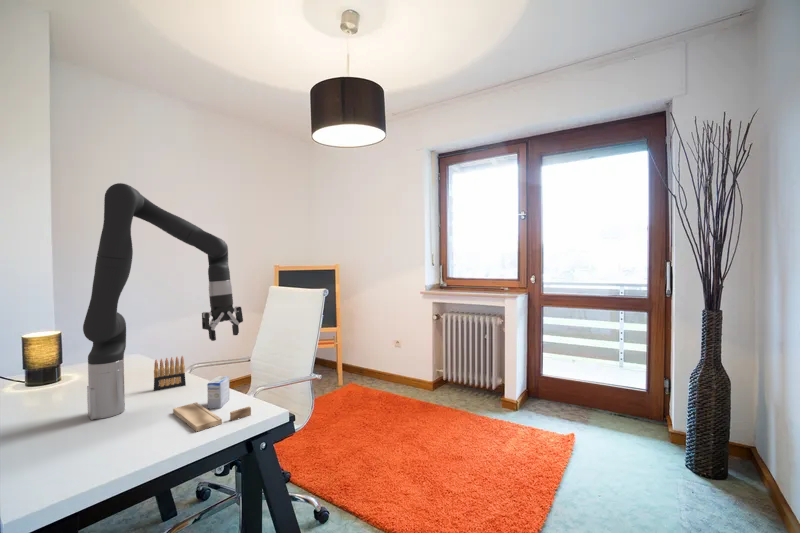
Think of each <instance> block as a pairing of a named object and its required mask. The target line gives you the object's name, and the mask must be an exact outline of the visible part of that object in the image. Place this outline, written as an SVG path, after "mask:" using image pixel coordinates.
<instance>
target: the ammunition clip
mask: <svg viewBox="0 0 800 533" xmlns="http://www.w3.org/2000/svg"><path fill="white" fill-rule="evenodd" d="M179 360H180V361H179ZM169 361H170V362H169ZM174 363H175V364H174ZM153 366H154V370H153V392H156V391H162V390H168V389H174V388H180V387H184V386H185V387H186V385H187V384H186V370H185V367H186V366H185V359H184V356H183V355H181V357H180V359H179V357H178V356H176V357H175V362H174V358H173V357H172V356H171V358H170V360H169V358H167V357H166V358H165V361H163V359H162V358H160V360H159V362H158V359H156V358H155V361H154V365H153Z"/></svg>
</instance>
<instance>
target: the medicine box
mask: <svg viewBox="0 0 800 533" xmlns="http://www.w3.org/2000/svg"><path fill="white" fill-rule="evenodd" d="M206 386H207V389H206V390H207V409H208V408H215V409H221V408H222V407H223V406H224V405H226V404H227V402H228V401H230V376H227V375H222V376H219V375H218V376H216V377H214V378H213V379H212V380H211V381H209V382H208V383H207V384H206Z"/></svg>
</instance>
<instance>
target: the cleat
mask: <svg viewBox="0 0 800 533" xmlns="http://www.w3.org/2000/svg"><path fill="white" fill-rule="evenodd" d="M248 416H252V408H251V406H246V407H243V408H240V409H236V410H233V411H229V418H230V421H231V420H233V421H236V420H238V418H240V419H242V417H243V418H245V417H248ZM235 419H236V420H235Z"/></svg>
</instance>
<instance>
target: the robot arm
mask: <svg viewBox="0 0 800 533" xmlns="http://www.w3.org/2000/svg"><path fill="white" fill-rule="evenodd" d="M103 202H104V203H103V206H104V208H103V210H104V211H103V212H104V213H103V224H102V229H101V230H102V231H101V234H100V238H99V245H98V249H97V254H96V259H95V265H94V266H95V267H94V276H93V279H92V280H93V282H92V287H91V289H92V290H91V296H90V301H89V304H88V306H87V307H88V308H87V311H86V314H85V317H84V321H83V325H82V331H83V334H84V337H85V338H86V340H88V341H90V342H92V347H91V350H90V352H89V354H88V356H87V372H88V373H87V378H88V379H87V381H88V384H87V387H86V389H87V391H86V392H87V393H86V394H87V395H86V396H87V399H86V400H87V402H86V403H87V416H88V418H89V420H92V421H93V420H97V419H106V418H111V417H115V416H117V415H120V414H121V413H123V412H125V411H126V409H125V408H126V402H125V400H126V398H125V397H126V396H125V395H126V394H125V362H124V361H125V360H124V359H125V357H124V356H125V351H126V349H127V348H126V347H127V323H126V319H125V317H124V316H123V315H122V314H121V313H120V312H118V304H119V299H120V296H121V294H122V292H123V290H124V289H125V285H126V283H127V281H128V280H129V277H130V274H131V268H132V263H133V254H134V252H133V250H134V249H133V242H132V241H133V240H132V222H133V219H134V218H138V219H141V220H143V221H145V222H147V223H149V224H152V225H154V226H155V227H156V228H158V229H160V230H162V231H163V232H165V233H166V234H169V236H172V237H173V238H175V239H177V240H179V241H181V242H183V243H185V244H187V245H189V246H192V247H194V248H195V249H198V250H199V251H201V252H203V253H204V254H206V255H207V262H208V268H207V270H208V271H207V275H208V296H209V306H210V311H207V312H206V311H203V312H202V313H201V325H202V326H201V328H202V330H207V331H208V339H209V340H210V341H211V342H215V341H217V337H216V336H217V334H216V330H215V329H216V327H217V326H218V325H219V323H222V322H230V323H231V324H232V325H231V326H232V327H231V328H232V329H231V330H232V336H239V333H240V330H239V324H241V323H243V322H244V317H243V310H242V306H233V305H234V300H233V287H232V282H231V274H230V273H231V272H230V271H231V270H230V268H229V248H228V244H227V243H226V241H225V240H223V239H222V238H220V237H218V236H216V235H214V234H212V233H209V232H208V231H205V230H204V229H203V228H201V227H200V226H197V225H196V224H194V223H192V222H190V221H189V220H186V219H184V218H182V217H180V216H178V215H176V214H173V213H171V212H169V211H167V210H165V209H163V208H162V207H160V206H158V205H156V204H155V203H154V202H152V201H150V200H149V199H148V198H147V197H145V196H143V195H142V194H141V193H140V192H139V190H138V189H136V188H134V187H132V186H131V185H129V184H127V183H123V182H120V183H119V182H118V183H114V184H112V185H110V186H109V187H108V188H107V189H106V190H105V194H104V201H103ZM234 313H235V316H234V315H233V314H234ZM211 317H212V318H211ZM210 318H211V320H210Z"/></svg>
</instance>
